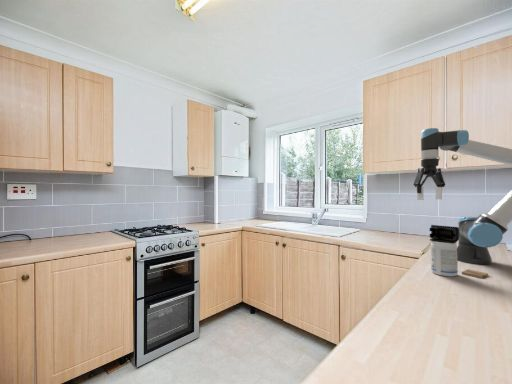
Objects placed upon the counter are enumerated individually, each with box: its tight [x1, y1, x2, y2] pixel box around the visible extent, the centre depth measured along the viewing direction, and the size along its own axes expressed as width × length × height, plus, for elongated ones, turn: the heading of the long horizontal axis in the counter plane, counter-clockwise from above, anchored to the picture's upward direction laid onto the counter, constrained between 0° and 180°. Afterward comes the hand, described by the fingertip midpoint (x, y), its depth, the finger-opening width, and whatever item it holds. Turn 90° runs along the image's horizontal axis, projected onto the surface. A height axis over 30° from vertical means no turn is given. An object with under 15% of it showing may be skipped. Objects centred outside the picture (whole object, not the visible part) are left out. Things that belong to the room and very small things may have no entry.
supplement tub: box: [430, 241, 459, 277], centre depth 115 cm, size 10×10×15 cm
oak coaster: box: [461, 268, 489, 279], centre depth 113 cm, size 7×7×1 cm
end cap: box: [429, 224, 460, 244], centre depth 115 cm, size 10×7×7 cm
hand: (429, 199), depth 133 cm, fingers open, 13 cm apart
